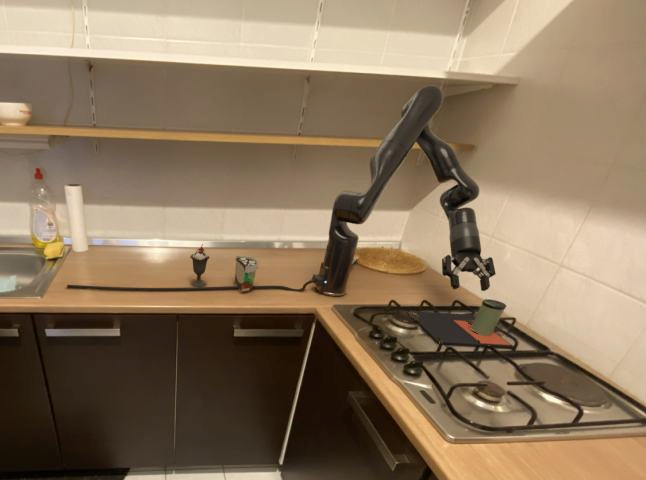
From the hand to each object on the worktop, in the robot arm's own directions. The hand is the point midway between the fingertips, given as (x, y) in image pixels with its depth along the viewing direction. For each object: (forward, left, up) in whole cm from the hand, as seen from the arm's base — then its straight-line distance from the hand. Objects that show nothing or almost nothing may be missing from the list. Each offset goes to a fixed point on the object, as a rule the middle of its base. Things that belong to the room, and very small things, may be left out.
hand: (470, 289), depth 115 cm
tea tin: (0, -11, -9) cm, 14 cm away
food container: (-65, +16, -10) cm, 68 cm away
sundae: (-82, +17, -10) cm, 85 cm away
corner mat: (-5, -8, -10) cm, 14 cm away
